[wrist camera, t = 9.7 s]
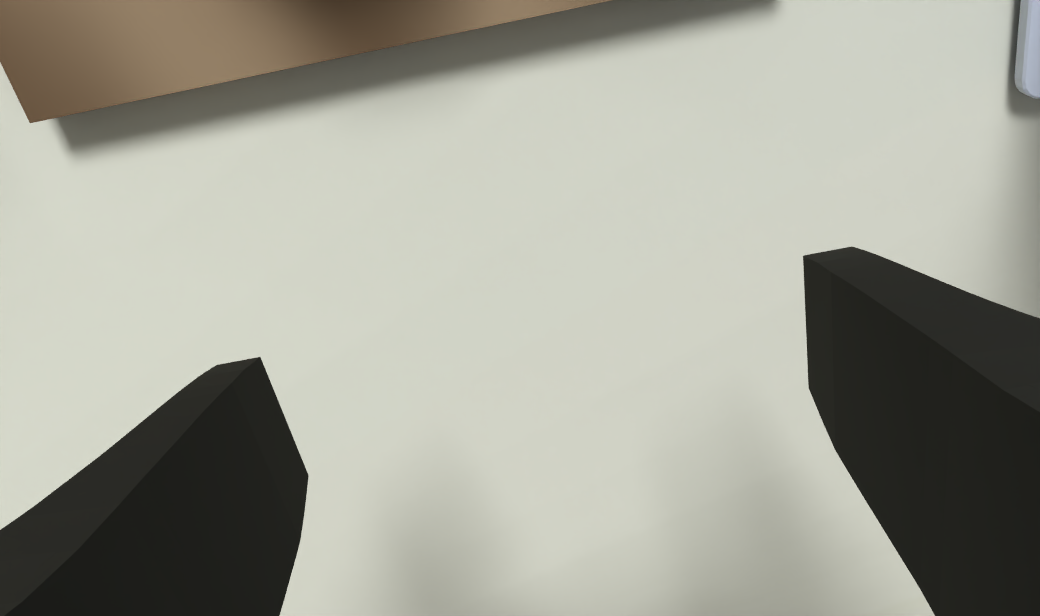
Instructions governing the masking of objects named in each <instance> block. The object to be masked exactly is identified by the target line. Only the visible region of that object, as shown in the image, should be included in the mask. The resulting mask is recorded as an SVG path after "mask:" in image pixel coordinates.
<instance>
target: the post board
mask: <svg viewBox="0 0 1040 616" xmlns="http://www.w3.org/2000/svg"><path fill="white" fill-rule="evenodd" d="M606 1H611V0H0V62H1V64H2V66H3V68H4V70H5V73H6V75H7V77H8V79H9V81H10V83H11V85H12V87H13V89H14V91H15V93H16V95H17V97H18V99H19V101H20V103H21V106H22V108H23V110H24V112H25V114H26V116H27V118H28V120H29V122H30V123H33V122H38V121H43V120H47V119H52V118H57V117H62V116H66V115H71V114H76V113H81V112H85V111H90V110H95V109H100V108H104V107H109V106H114V105H118V104H123V103H128V102H133V101H137V100H142V99H147V98H152V97H156V96H161V95H166V94H171V93H175V92H180V91H185V90H190V89H194V88H199V87H204V86H208V85H213V84H218V83H223V82H227V81H232V80H237V79H242V78H246V77H251V76H256V75H261V74H265V73H270V72H275V71H280V70H284V69H289V68H294V67H298V66H303V65H308V64H313V63H317V62H322V61H327V60H332V59H336V58H341V57H346V56H351V55H355V54H360V53H365V52H370V51H374V50H379V49H384V48H389V47H393V46H398V45H403V44H407V43H412V42H417V41H422V40H426V39H431V38H436V37H441V36H445V35H450V34H455V33H460V32H464V31H469V30H474V29H479V28H483V27H488V26H493V25H497V24H502V23H507V22H512V21H516V20H521V19H526V18H531V17H535V16H540V15H545V14H550V13H554V12H559V11H564V10H569V9H573V8H578V7H583V6H588V5H592V4H597V3H602V2H606Z"/></svg>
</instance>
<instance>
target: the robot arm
mask: <svg viewBox="0 0 1040 616" xmlns="http://www.w3.org/2000/svg"><path fill="white" fill-rule="evenodd" d="M1015 85H1016V87H1017V88H1018V90H1019V91H1020V92H1021V93H1024V94H1026V95H1028V96H1030V97H1032V98H1034V99H1040V0H1021V4H1020V16H1019V28H1018V41H1017V53H1016V65H1015ZM803 263H804V287H805V310H806V334H807V358H808V382H809V390H810V392H811V394H812V397H813V399H814V402H815V404H816V406H817V409H818V411H819V414H820V416H821V419H822V421H823V423H824V426H825V428H826V430H827V432H828V435H829V437H830V439H831V441H832V444H833V446H834V448H835V450H836V452H837V454H838V455H839V457H840V459H841V460H842V462H843V464H844V465H845V467H846V469H847V470H848V472H849V474H850V475H851V477H852V479H853V480H854V482H855V484H856V485H857V487H858V489H859V490H860V492H861V493H862V495H863V497H864V498H865V500H866V502H867V503H868V505H869V507H870V508H871V510H872V511H873V513H874V515H875V516H876V518H877V519H878V521H879V523H880V524H881V526H882V528H883V529H884V531H885V532H886V534H887V536H888V537H889V539H890V541H891V542H892V544H893V545H894V547H895V549H896V550H897V552H898V554H899V555H900V557H901V558H902V560H903V562H904V563H905V565H906V567H907V568H908V570H909V571H910V573H911V575H912V576H913V578H914V579H915V581H916V583H917V584H918V586H919V588H920V589H921V591H922V593H923V595H924V596H925V598H926V600H927V602H928V604H929V605H930V607H931V609H932V611H933V613H934V614H935V616H1040V319H1039V318H1037V317H1034V316H1031V315H1028V314H1025V313H1022V312H1019V311H1016V310H1013V309H1011V308H1008V307H1005V306H1003V305H1000V304H997V303H995V302H992V301H989V300H987V299H984V298H981V297H979V296H976V295H974V294H971V293H969V292H966V291H964V290H961V289H959V288H956V287H954V286H951V285H949V284H946V283H944V282H942V281H939V280H937V279H934V278H932V277H929V276H927V275H925V274H922V273H920V272H917V271H915V270H913V269H910V268H908V267H905V266H903V265H901V264H898V263H896V262H893V261H891V260H888V259H886V258H883V257H881V256H878V255H876V254H873V253H870V252H867V251H865V250H861V249H858V248H855V247H847V248H842V249H837V250H831V251H826V252H821V253H815V254H810V255H805V256H803ZM307 484H308V473H307V471H306V468H305V466H304V463H303V461H302V459H301V456H300V454H299V451H298V449H297V446H296V444H295V441H294V439H293V436H292V434H291V431H290V429H289V427H288V424H287V422H286V419H285V417H284V414H283V412H282V409H281V407H280V404H279V402H278V400H277V397H276V395H275V392H274V390H273V387H272V385H271V382H270V380H269V377H268V375H267V372H266V370H265V368H264V365H263V363H262V360H261V358H260V357H258V358H252V359H247V360H242V361H236V362H231V363H226V364H220V365H216V366H215V367H213V368H211V369H210V370H208V371H206V372H205V373H203V374H202V375H201V376H199V377H198V378H196V379H195V380H194V381H192V382H191V383H190V384H188V385H187V386H186V387H184V388H183V389H182V390H181V391H179V392H178V393H177V394H176V395H174V396H173V397H172V398H171V399H169V400H168V401H167V402H166V403H164V404H163V405H162V406H161V407H159V408H158V409H157V410H156V411H155V412H153V413H152V414H151V415H150V416H148V417H147V418H146V419H145V420H144V421H142V422H141V423H140V424H139V425H137V426H136V427H135V428H134V429H133V430H131V431H130V432H129V433H128V434H126V435H125V436H124V437H123V438H122V439H120V440H119V441H118V442H117V443H115V444H114V445H113V446H112V447H111V448H109V449H108V450H107V451H106V452H104V453H103V454H102V455H101V456H99V457H98V458H97V459H95V460H94V461H93V462H92V463H90V464H89V465H88V466H86V467H85V468H84V469H82V470H81V471H80V472H78V473H77V474H76V475H75V476H73V477H72V478H71V479H69V480H68V481H67V482H65V483H64V484H63V485H61V486H60V487H59V488H58V489H56V490H55V491H54V492H52V493H51V494H50V495H48V496H47V497H46V498H44V499H43V500H42V501H41V502H39V503H38V504H37V505H35V506H34V507H32V508H31V509H30V510H28V511H27V512H25V513H24V514H23V515H21V516H20V517H18V518H17V519H16V520H14V521H13V522H11V523H10V524H8V525H7V526H5V527H4V528H3V529H1V530H0V616H279V615H280V612H281V608H282V605H283V601H284V598H285V594H286V591H287V587H288V584H289V580H290V576H291V573H292V569H293V566H294V562H295V558H296V555H297V551H298V547H299V543H300V538H301V531H302V525H303V518H304V511H305V502H306V493H307Z"/></svg>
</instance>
